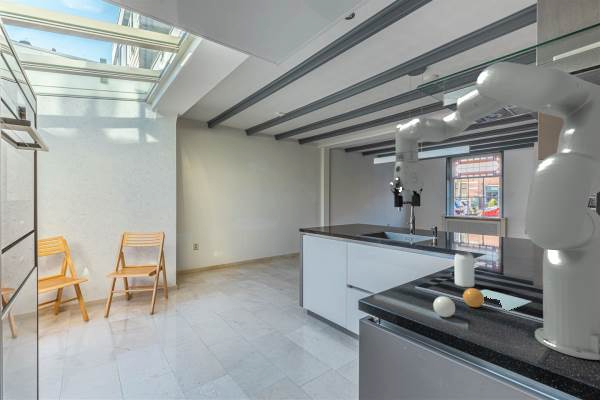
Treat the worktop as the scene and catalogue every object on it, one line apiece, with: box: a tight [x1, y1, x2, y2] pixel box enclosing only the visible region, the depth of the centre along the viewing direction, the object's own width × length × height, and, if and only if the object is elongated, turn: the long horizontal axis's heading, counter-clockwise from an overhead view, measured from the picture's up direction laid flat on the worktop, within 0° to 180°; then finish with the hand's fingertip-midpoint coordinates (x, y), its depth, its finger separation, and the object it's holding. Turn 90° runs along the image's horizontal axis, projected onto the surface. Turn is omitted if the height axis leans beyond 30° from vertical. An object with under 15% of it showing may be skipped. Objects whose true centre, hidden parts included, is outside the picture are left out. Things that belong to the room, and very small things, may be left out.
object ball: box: [462, 287, 484, 308], centre depth 87 cm, size 6×6×6 cm
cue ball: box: [432, 295, 456, 318], centre depth 80 cm, size 6×6×6 cm
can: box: [453, 251, 475, 289], centre depth 108 cm, size 6×6×12 cm
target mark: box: [479, 289, 533, 312], centre depth 92 cm, size 14×14×1 cm
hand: (407, 206), depth 102 cm, fingers open, 9 cm apart
